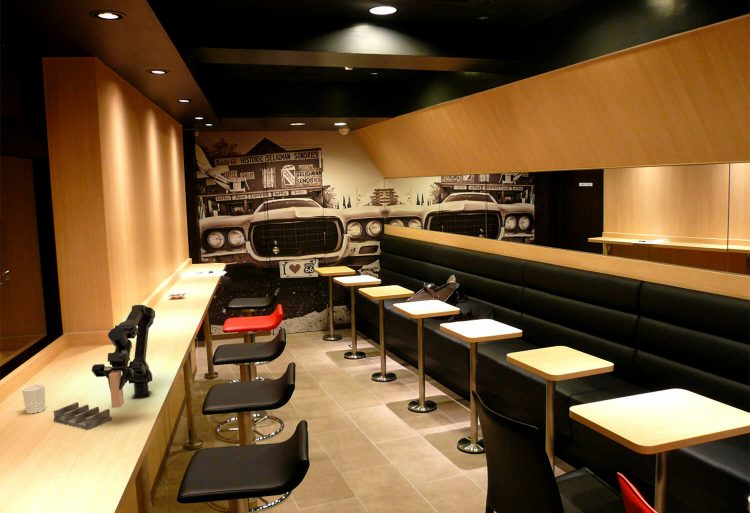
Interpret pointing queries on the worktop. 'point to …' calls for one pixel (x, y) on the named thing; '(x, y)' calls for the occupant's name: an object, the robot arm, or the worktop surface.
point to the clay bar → (116, 389)
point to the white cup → (34, 398)
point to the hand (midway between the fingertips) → (115, 389)
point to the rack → (81, 416)
